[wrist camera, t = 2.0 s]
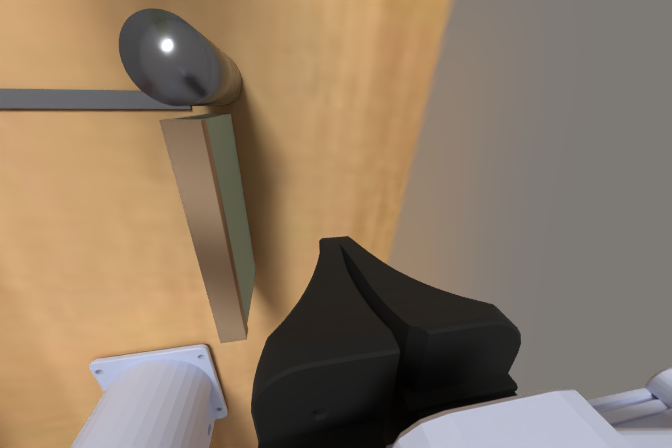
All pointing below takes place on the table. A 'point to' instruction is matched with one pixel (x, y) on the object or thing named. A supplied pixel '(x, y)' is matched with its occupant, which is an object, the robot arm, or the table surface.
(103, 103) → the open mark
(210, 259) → the green and brown panel
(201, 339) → the table surface
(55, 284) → the table surface
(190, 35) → the hinge post
